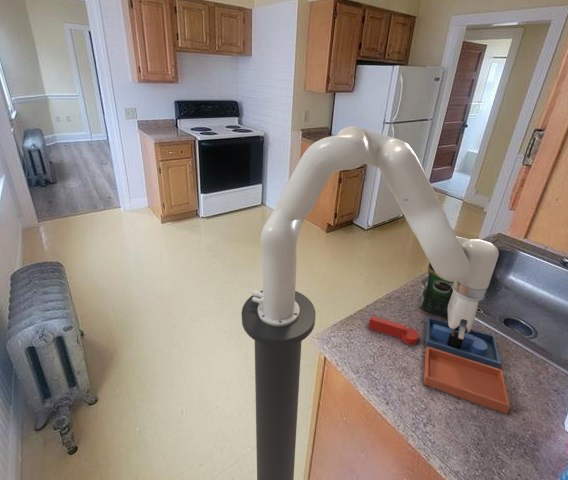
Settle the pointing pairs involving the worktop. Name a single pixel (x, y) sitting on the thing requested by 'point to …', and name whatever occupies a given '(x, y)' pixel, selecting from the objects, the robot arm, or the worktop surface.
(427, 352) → the tray orange
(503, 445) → the worktop surface
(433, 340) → the tray blue
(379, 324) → the red bar with disc
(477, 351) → the blue bar with disc
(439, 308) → the coffee jar
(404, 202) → the robot arm
